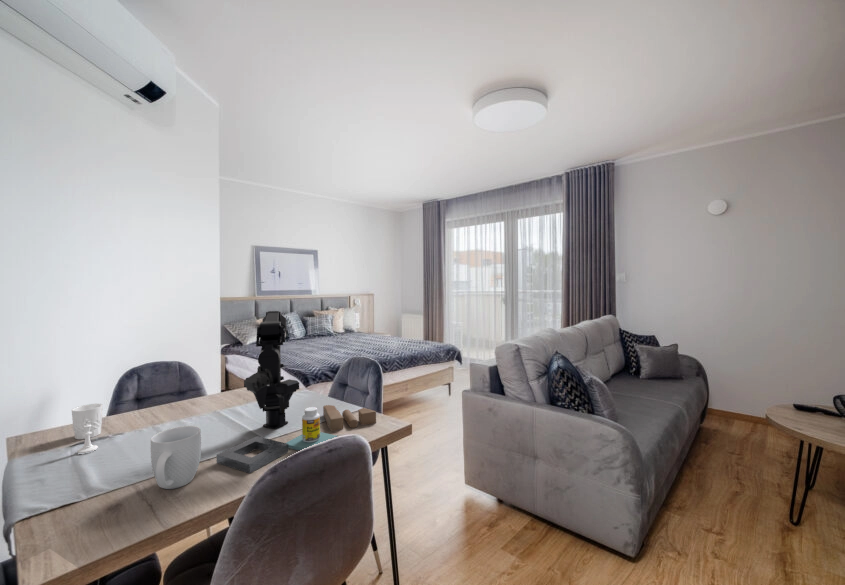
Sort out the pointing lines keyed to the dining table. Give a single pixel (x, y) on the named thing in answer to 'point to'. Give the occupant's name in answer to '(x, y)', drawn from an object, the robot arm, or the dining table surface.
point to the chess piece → (87, 439)
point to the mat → (300, 444)
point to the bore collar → (247, 464)
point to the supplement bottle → (310, 425)
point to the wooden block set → (347, 417)
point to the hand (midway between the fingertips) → (271, 410)
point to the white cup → (82, 414)
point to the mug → (175, 456)
